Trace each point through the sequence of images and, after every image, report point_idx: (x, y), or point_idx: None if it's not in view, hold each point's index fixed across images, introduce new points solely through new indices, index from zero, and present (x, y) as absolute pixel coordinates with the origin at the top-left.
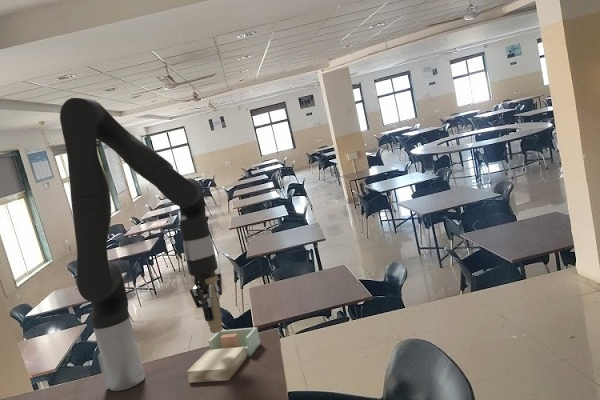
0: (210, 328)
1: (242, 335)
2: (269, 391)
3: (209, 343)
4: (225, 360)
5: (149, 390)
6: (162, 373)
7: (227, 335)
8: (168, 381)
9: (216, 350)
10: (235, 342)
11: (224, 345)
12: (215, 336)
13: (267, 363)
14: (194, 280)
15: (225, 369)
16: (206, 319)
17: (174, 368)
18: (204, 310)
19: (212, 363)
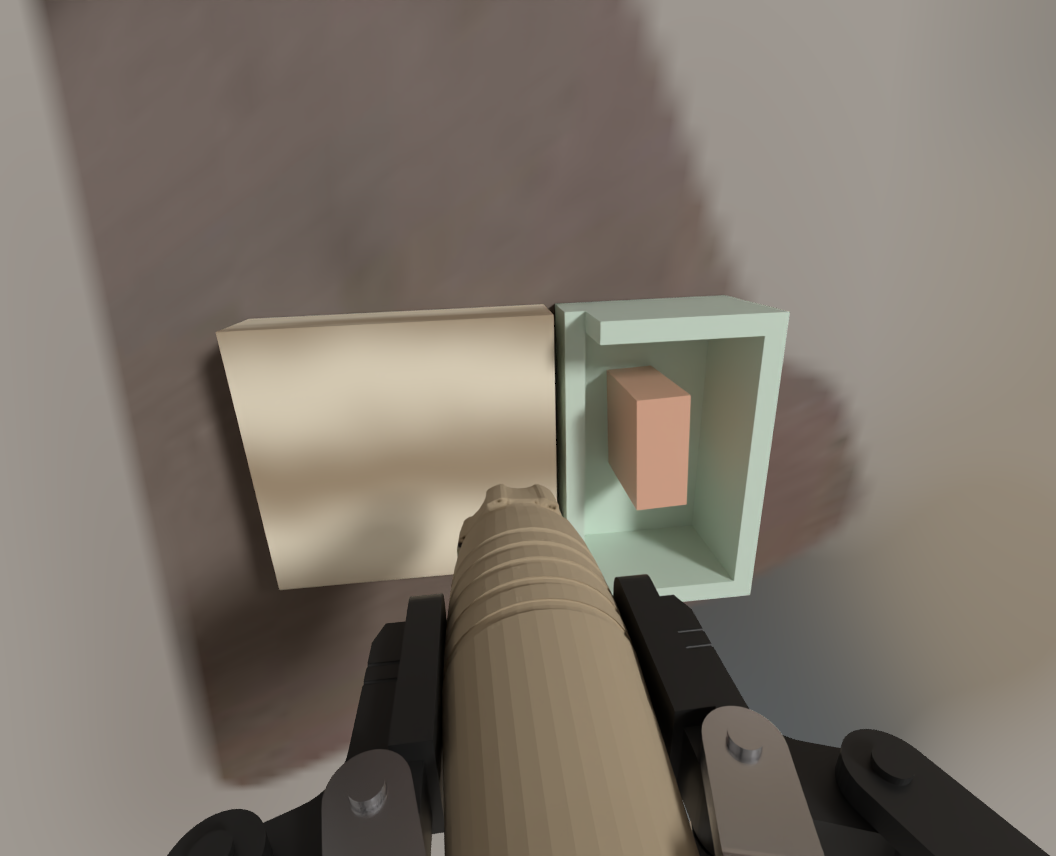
0: (485, 514)
1: (723, 483)
2: (228, 758)
3: (594, 322)
4: (382, 534)
5: (96, 18)
6: None
7: (668, 442)
8: (246, 121)
9: (533, 393)
10: (624, 484)
11: (620, 402)
12: (679, 340)
13: None
14: None
15: (279, 583)
16: (387, 636)
17: (441, 39)
18: (355, 754)
19: (341, 469)
